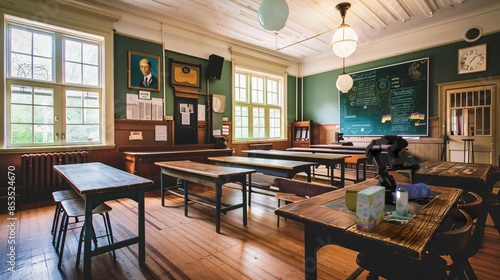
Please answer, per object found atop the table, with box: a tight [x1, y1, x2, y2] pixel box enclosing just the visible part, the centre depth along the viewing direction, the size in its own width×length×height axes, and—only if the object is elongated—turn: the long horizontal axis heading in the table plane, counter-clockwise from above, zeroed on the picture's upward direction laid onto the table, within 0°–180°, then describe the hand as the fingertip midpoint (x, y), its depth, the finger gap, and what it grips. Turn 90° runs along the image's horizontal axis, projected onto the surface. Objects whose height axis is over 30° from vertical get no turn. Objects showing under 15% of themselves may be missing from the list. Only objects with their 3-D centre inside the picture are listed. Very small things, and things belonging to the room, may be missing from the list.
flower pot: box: [343, 189, 361, 212], centre depth 126 cm, size 9×9×9 cm
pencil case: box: [392, 182, 432, 200], centre depth 148 cm, size 22×9×10 cm, turn 103°
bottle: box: [395, 188, 409, 217], centre depth 115 cm, size 5×5×12 cm
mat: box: [391, 211, 414, 221], centre depth 115 cm, size 8×8×1 cm
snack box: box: [355, 185, 385, 233], centre depth 104 cm, size 21×6×15 cm, turn 137°
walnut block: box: [408, 203, 424, 215], centre depth 120 cm, size 4×4×4 cm
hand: (401, 185), depth 122 cm, fingers open, 9 cm apart
